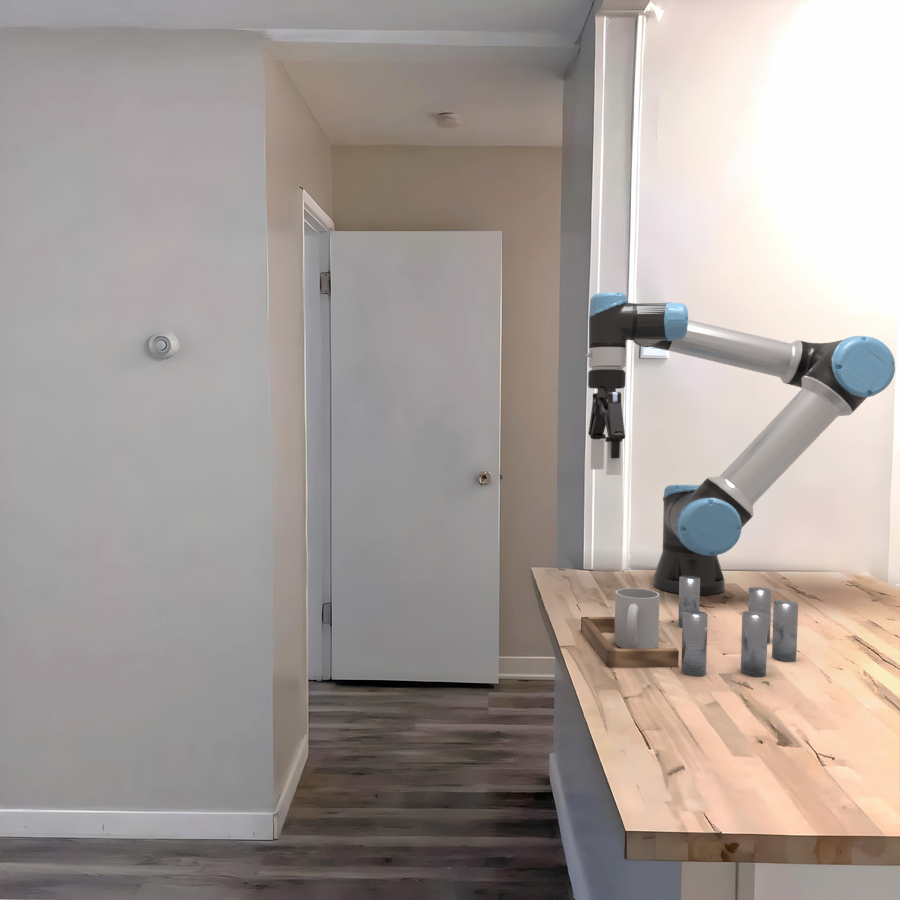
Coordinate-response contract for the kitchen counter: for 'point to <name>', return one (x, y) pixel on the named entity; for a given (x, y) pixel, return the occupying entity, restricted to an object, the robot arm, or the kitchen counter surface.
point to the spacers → (752, 630)
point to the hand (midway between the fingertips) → (604, 472)
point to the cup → (636, 618)
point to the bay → (624, 657)
